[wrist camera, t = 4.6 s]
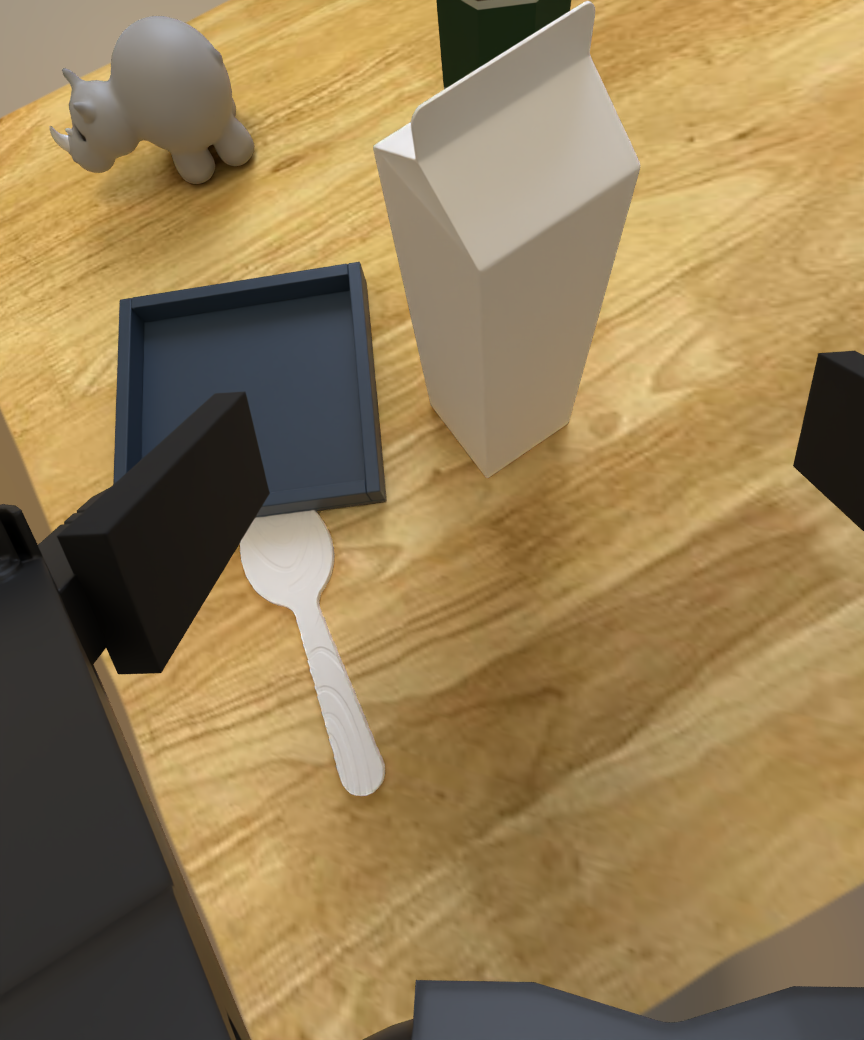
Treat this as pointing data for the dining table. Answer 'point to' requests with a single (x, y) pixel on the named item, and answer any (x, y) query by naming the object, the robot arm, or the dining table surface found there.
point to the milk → (510, 235)
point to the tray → (262, 379)
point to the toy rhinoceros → (157, 103)
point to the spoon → (314, 632)
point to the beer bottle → (488, 30)
